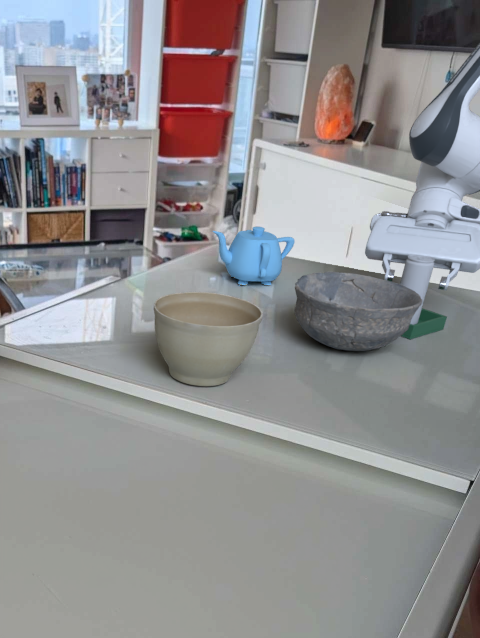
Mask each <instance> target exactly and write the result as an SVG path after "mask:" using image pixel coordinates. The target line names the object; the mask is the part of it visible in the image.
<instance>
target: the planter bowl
mask: <svg viewBox="0 0 480 638" xmlns="http://www.w3.org/2000/svg"><path fill="white" fill-rule="evenodd" d="M153 313H154V333H155V338H156V342H157V346H158V348H159V352H160V354H161V356H162V358H163V359H164V361H165V363H166V364H167V366H168V373H169V375H170V377H172V378H173V379H175V380H176V381H178V382H181V383H183V384H186V385H191V386H198V387H215V386H216V387H217V386H219V385H224V384H225V383H227V382H228V381H229V380H230V379H231V376H232V373H233V372H234V371H235V370H236V369H237V368H239V366H241V364H242V363H243V362H244V361H245V359H246V358H247V356H248V355H249V353H250V352H251V350H252V348H253V346H254V343H255V341H256V340H257V335H258V332H259V327H260V324H261V322H262V320H263V314H264V312H263V310H262V309H261V307H259V306H258V305H256V304H255V303H254V302H251V301H249V300H247V299H243V298H241V297H237V296H233V295H229V294H223V293H218V292H208V291H186V292H185V291H182V292H175V293H174V292H173V293H169V294H164V295H162V296H160V297H158V298H157V299H156V300H155V301H154V302H153Z"/></svg>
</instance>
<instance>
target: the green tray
mask: <svg viewBox="0 0 480 638" xmlns="http://www.w3.org/2000/svg"><path fill="white" fill-rule="evenodd" d="M447 317H448V316H446V315H444V314H441V313H438V312H435V311H432V310H429V309H425V308H424V307H422V309H421V313H420V317H419V320H418V323H417V324H414V325H413V324H410V325H409V328H408V330H407V331H406V332H405V333H404V334H403V335H401V336H400V337H403V338H404V339H408V340H413V339H416V338H420V337H423V336H426V335H430V334H433V333H436V332H440V331H443V330H444V329H445V326H446V322H447V319H448V318H447Z"/></svg>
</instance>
